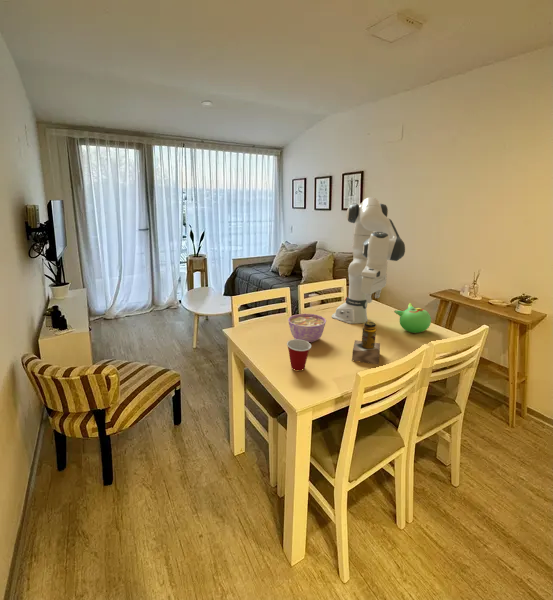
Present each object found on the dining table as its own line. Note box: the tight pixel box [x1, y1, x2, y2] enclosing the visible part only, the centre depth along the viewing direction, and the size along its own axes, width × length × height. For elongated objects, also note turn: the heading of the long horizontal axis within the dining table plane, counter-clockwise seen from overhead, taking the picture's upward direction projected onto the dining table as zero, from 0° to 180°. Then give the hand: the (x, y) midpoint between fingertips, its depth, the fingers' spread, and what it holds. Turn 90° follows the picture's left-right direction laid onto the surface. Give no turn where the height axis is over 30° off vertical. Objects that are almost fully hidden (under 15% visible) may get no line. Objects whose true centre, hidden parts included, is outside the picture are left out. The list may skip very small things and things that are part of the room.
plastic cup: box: [286, 338, 312, 370], centre depth 148 cm, size 11×11×12 cm
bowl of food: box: [287, 313, 327, 343], centre depth 178 cm, size 20×20×12 cm
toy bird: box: [393, 302, 432, 334], centre depth 190 cm, size 18×17×15 cm
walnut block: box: [351, 339, 381, 365], centre depth 160 cm, size 12×12×6 cm
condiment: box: [355, 321, 378, 351], centre depth 157 cm, size 7×8×12 cm
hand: (373, 300), depth 151 cm, fingers open, 8 cm apart
